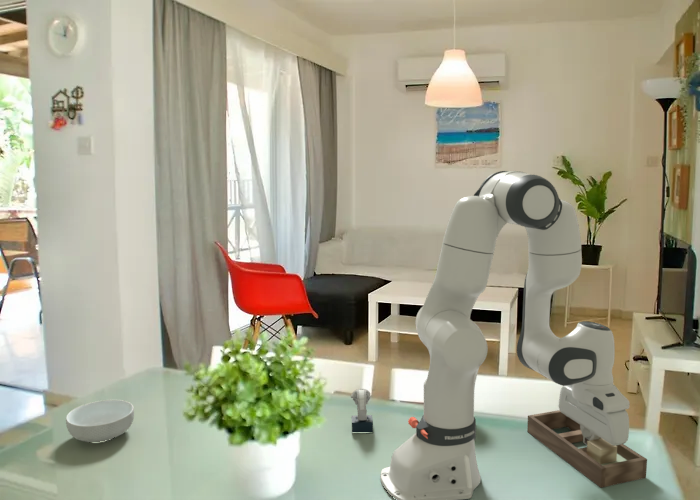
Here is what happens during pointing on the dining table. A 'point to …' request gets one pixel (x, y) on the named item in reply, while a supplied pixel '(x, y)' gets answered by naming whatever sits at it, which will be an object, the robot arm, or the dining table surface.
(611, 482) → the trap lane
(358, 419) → the grey joystick on base
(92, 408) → the cereal bowl
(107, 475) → the dining table surface
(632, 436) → the dining table surface
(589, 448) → the block
